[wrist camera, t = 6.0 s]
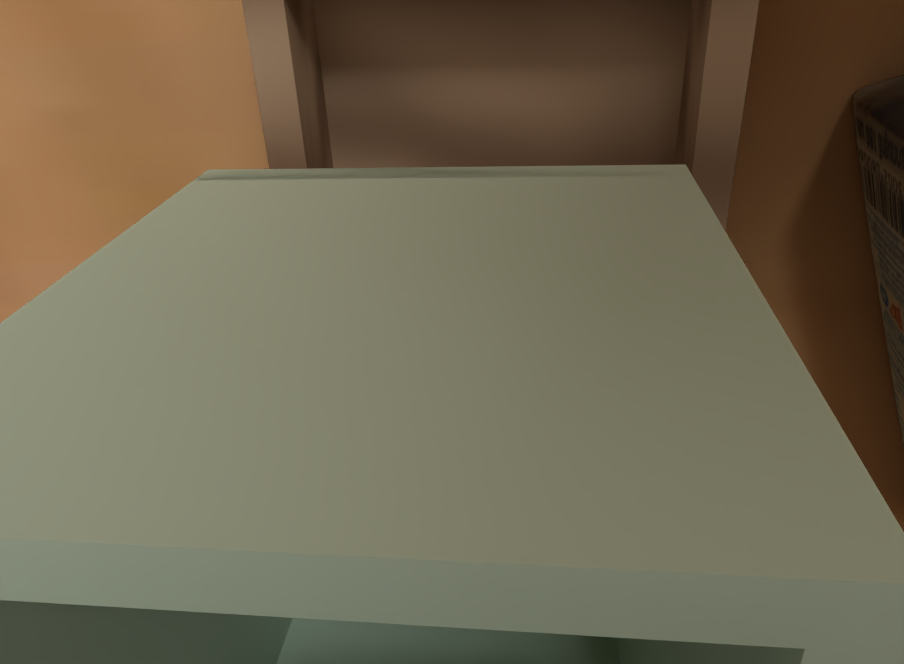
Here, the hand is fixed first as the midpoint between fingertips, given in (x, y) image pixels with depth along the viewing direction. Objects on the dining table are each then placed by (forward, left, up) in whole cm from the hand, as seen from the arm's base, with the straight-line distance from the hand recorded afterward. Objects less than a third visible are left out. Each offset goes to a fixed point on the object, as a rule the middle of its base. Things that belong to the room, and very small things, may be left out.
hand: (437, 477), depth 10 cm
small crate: (0, 0, -2) cm, 2 cm away
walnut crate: (0, 0, -17) cm, 17 cm away
